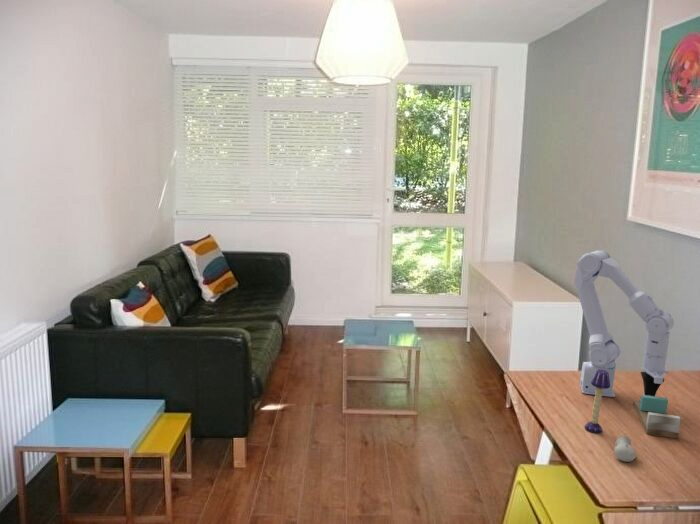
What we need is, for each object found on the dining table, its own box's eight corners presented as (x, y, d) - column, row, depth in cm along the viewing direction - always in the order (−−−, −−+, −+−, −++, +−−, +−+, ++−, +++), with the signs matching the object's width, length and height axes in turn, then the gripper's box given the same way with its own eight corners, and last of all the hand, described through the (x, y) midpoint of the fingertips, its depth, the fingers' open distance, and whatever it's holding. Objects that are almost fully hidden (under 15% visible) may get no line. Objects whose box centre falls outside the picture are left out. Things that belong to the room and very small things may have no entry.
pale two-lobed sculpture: (631, 470, 139) (609, 458, 141) (633, 454, 146) (612, 444, 148) (639, 456, 138) (617, 444, 140) (641, 441, 145) (620, 430, 146)
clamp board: (646, 433, 155) (649, 414, 154) (632, 404, 173) (635, 387, 172) (677, 438, 153) (680, 419, 152) (660, 408, 171) (663, 390, 170)
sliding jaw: (640, 410, 165) (642, 397, 164) (639, 407, 167) (641, 394, 166) (666, 413, 163) (668, 400, 162) (664, 411, 165) (666, 397, 164)
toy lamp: (589, 423, 160) (597, 366, 156) (606, 429, 156) (614, 371, 153) (582, 429, 156) (589, 370, 153) (599, 435, 153) (607, 376, 150)
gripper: (677, 364, 161) (670, 410, 164) (664, 347, 175) (658, 389, 178) (649, 361, 163) (643, 406, 166) (638, 344, 177) (633, 386, 179)
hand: (649, 397), depth 172 cm, fingers closed
